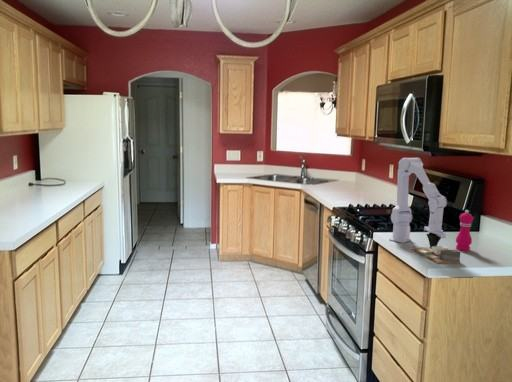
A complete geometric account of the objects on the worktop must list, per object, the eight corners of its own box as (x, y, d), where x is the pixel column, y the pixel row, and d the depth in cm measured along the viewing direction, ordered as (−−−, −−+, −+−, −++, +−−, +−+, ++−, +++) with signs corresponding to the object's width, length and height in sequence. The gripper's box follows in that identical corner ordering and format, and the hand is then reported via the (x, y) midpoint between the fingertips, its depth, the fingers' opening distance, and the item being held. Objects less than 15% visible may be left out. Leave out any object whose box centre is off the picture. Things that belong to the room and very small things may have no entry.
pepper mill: (465, 252, 217) (470, 212, 213) (451, 248, 223) (456, 209, 219) (473, 250, 221) (478, 210, 218) (459, 246, 227) (464, 207, 223)
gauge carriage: (424, 252, 210) (424, 246, 209) (442, 251, 212) (443, 245, 211) (428, 255, 206) (429, 249, 205) (447, 254, 208) (448, 248, 207)
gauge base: (411, 249, 219) (412, 239, 218) (432, 248, 221) (433, 239, 220) (437, 263, 198) (438, 252, 198) (460, 262, 201) (461, 251, 200)
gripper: (452, 224, 206) (449, 253, 208) (434, 217, 220) (431, 244, 222) (439, 225, 204) (436, 253, 206) (421, 217, 218) (418, 244, 220)
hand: (432, 248), depth 214 cm, fingers closed
